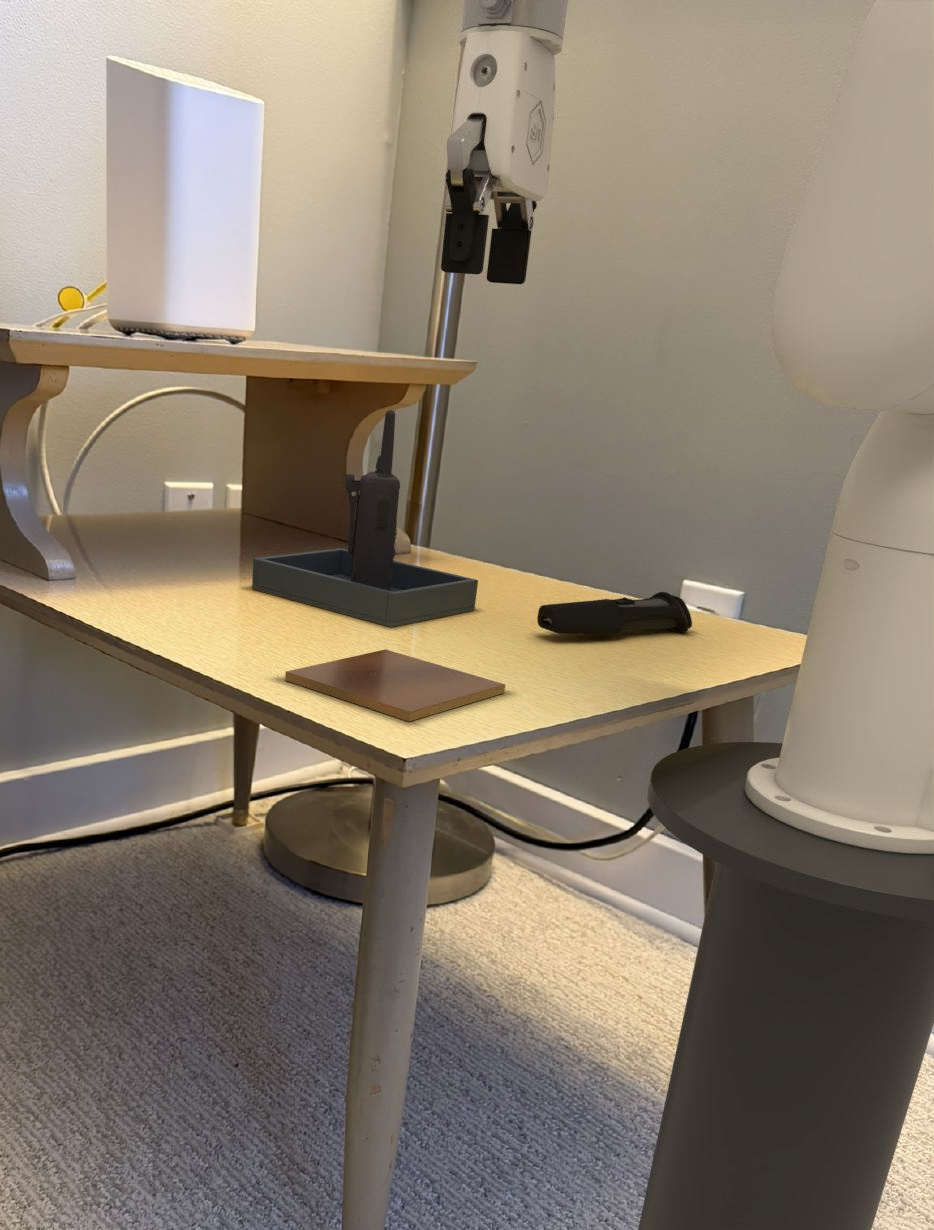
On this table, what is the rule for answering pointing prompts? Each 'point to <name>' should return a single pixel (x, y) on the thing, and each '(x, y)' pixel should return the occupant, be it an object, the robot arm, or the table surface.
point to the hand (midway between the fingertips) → (484, 278)
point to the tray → (364, 588)
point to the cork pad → (395, 684)
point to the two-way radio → (374, 517)
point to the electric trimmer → (616, 615)
